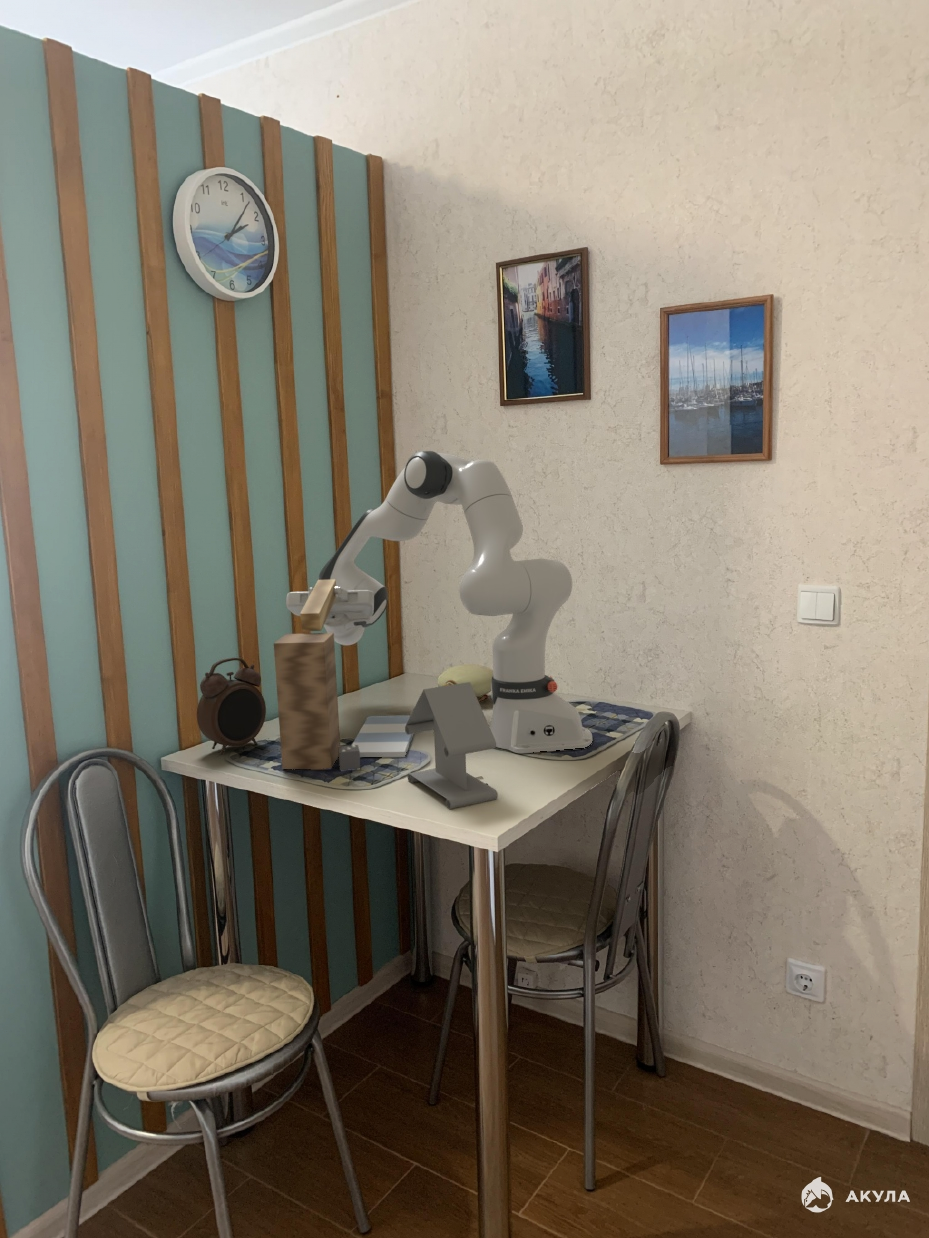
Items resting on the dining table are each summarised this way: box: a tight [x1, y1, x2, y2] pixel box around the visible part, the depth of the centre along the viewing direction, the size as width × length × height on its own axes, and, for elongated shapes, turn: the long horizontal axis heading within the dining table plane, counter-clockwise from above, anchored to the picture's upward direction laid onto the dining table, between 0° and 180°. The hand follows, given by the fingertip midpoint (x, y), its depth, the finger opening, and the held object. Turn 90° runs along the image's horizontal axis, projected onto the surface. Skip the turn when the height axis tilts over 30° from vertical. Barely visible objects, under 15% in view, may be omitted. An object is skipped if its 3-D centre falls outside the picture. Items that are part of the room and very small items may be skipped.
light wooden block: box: [299, 579, 337, 632], centre depth 205 cm, size 4×20×4 cm, turn 177°
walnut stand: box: [273, 632, 341, 771], centre depth 192 cm, size 10×10×26 cm
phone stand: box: [405, 682, 498, 810], centre depth 173 cm, size 18×10×20 cm, turn 28°
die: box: [338, 745, 361, 771], centre depth 189 cm, size 4×4×4 cm
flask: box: [437, 663, 493, 703], centre depth 237 cm, size 9×16×18 cm
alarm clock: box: [196, 657, 267, 755], centre depth 203 cm, size 14×7×20 cm, turn 138°
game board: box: [350, 714, 414, 758], centre depth 209 cm, size 12×28×1 cm, turn 177°
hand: (324, 590), depth 211 cm, fingers closed on light wooden block, 4 cm apart
